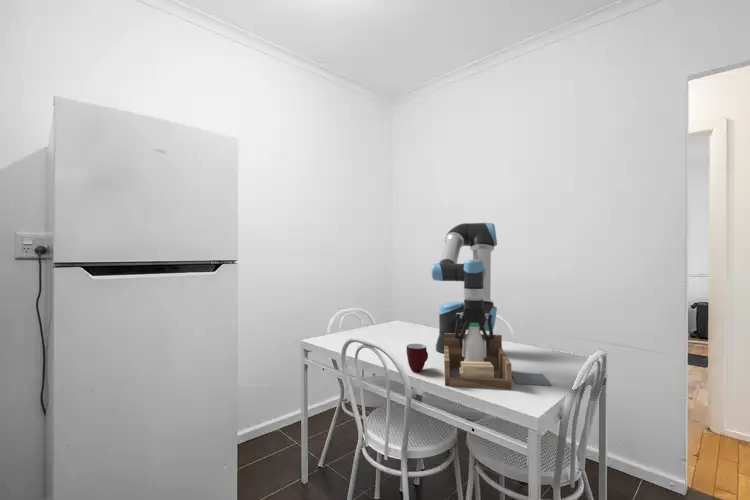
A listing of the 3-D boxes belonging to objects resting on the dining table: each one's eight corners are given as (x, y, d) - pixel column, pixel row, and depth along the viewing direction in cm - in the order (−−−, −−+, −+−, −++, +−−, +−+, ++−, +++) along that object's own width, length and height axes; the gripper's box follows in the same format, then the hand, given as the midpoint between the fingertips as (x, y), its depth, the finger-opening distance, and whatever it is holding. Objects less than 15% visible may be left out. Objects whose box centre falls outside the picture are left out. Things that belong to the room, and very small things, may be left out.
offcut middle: (459, 374, 143) (459, 367, 143) (491, 375, 141) (491, 369, 141) (460, 379, 137) (460, 372, 137) (494, 380, 136) (494, 374, 136)
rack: (444, 366, 158) (444, 333, 158) (501, 368, 154) (501, 334, 154) (445, 385, 136) (444, 346, 136) (511, 389, 132) (511, 349, 132)
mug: (417, 364, 160) (417, 341, 160) (433, 368, 155) (433, 344, 155) (402, 370, 152) (402, 346, 152) (419, 375, 147) (419, 349, 147)
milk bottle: (485, 375, 144) (485, 324, 144) (464, 374, 146) (464, 323, 146) (483, 369, 152) (483, 320, 152) (463, 368, 153) (463, 319, 153)
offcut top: (460, 367, 142) (460, 361, 142) (490, 368, 142) (490, 361, 142) (462, 372, 137) (462, 366, 137) (493, 373, 136) (493, 366, 136)
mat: (510, 373, 149) (510, 372, 149) (542, 374, 147) (542, 373, 147) (516, 384, 137) (516, 382, 137) (551, 385, 135) (551, 384, 135)
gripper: (447, 299, 146) (448, 358, 147) (502, 300, 143) (502, 360, 143) (447, 297, 154) (447, 352, 154) (499, 298, 150) (499, 354, 151)
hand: (474, 356), depth 149 cm, fingers closed on milk bottle, 7 cm apart
